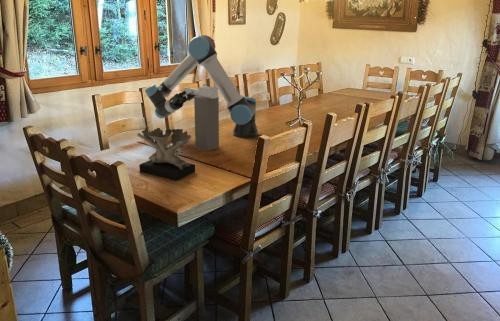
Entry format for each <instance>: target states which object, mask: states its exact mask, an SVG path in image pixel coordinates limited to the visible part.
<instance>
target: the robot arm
mask: <svg viewBox="0 0 500 321" xmlns="http://www.w3.org/2000/svg"><path fill="white" fill-rule="evenodd" d="M215 47H216V45H215V41H214V39H213V38H212V37H211V36H209V35H207V34H206V35H205V34H204V35H197V36H194V37H192V38H191V40H190V41H189V42H188V45H187V49H188V54H187V56H186V57H185V58H184V59H183V60H182V61H181V62H180V63H179V64H178V65H177V66H176V67H175V69H174V70H172V72H170V74H169V75H168V76H167V77H166V78H165V79H164V80H163V81H162V82H161V83H160V84H159V86H157V84H155V83H153V84H152V85H150V86H148V87H147V88H145V90H144V92H145V94H146V96H147V97H148V99H149V100H150V102H152V104H153V105H154V108H155V109H154V113H155V115H156V117H157V118H159V119H165V118H168V117H169V116H170V115H173V114H175V113H176V112H177V111H178V110H180V109H182V108H183V106H184V104H185V103H187V102H188V101H191V100H194V97H195V96H196V95H191V94H189V93H191V89H190V87H189V86H187V87H188V88H187V89H185V90H184V89H183V91H181V92H179V93H175V94H174V95H173V96H171V97H170V98H169V99H166V98H168V97H169V96H170V95H171V93H172V92H173V90H175V88H177V86H179V84H180V83H182V82H183V81H184V79H185V78H186V77H187V76H188V75H189V74H190V73H191V72H192V71H193V70H194V69H195V68H196V67H197V66H198V65H199V66H202V67H204V70H206V72H207V74H208V75H209V77H210V78H211V81H212V82H213V84H214V85H215V86H216V88H218V92H220V95H222V97H223V99H224V101H225V102H226V109H227V110H228V111H229V113H230V115H229V116H230V119H231V121H232V122H233V123H234V124H235V125H234V127H233V130H232V135H233V136H235V137H236V138H245V139H246V138H248V139H249V138H254V137H255V138H256V137H257V136H258V135H259V130H258V126H257V124H256V115H257V114H256V112H257V111H256V109H257V105H256V104H257V99H256V97H253V96H245V95H241V94H240V93H239V91H238V89H237V88H236V86H235V84H234V83H233V81H232V80H231V79H230V77H229V75H228V74H227V72H226V71H225V69H224V67H223V66H222V64H221V63H220V61H219V59H218V52H217V51H216V49H215ZM202 86H206V85H205V84H203V85H201V86H200V87H202ZM197 89H199V87H198V88H197Z"/></svg>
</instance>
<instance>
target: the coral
mask: <svg viewBox="0 0 500 321" xmlns="http://www.w3.org/2000/svg"><path fill="white" fill-rule="evenodd" d="M163 130H164V129H161V128H160V127H157V128H155V129H153V130H152V131H151V130H150V131H148V132H147V130H146V129H144V130H141V133H142V134H141V133H140V132H138V133H137V134H136V135H137V136H138V137H139V138H140V139H142V140H144V141H145V142H147V143H149V144H150V145H151V146H152V147H153V148H154V149H155V152H154V153H152V154H151V156H149V157H148V160H147V161H145V162H142V163H140V164H139V165H138V166H139V167H138V168H139V173H142V174H146V175H149V176H154V177H158V178H163V179H166V180H170V181H174V182H178V181H180V180H183V179H184V178H186V177H187V176H190V175H192V174H194V173H196V165H195V164H194V163H190V162H186V160H184V159H181V158H180V157H179V156H178V157H177V156H175V155H174V152H175V150H176V149H178V148H181V147H183V146H184V145H186V144H187V143H190V142H189V141H190V140H191V139H192V136H191V135H190V134H188V130H185V131H184V129H183V128H176V129H175V128H173V129H171V128H170V129H167V128H166V129H165V130H164V131H163ZM183 131H184V132H183ZM170 135H171V144H172V146H171V147H169V148H168V147H167V144H166V142H167V140H168V138H169V137H170Z"/></svg>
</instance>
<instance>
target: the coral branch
mask: <svg viewBox="0 0 500 321" xmlns="http://www.w3.org/2000/svg"><path fill="white" fill-rule="evenodd" d="M171 146H172V142H169V144H168V145H166V147H168V148H169V147H171ZM180 148H181V147H179V148H178V149H176V150H175V152H174V155H175V156H177V157H179V156H180V155H181V153H182V154H183V153H184V152H183V151H181V149H180Z"/></svg>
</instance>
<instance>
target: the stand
mask: <svg viewBox="0 0 500 321" xmlns="http://www.w3.org/2000/svg"><path fill="white" fill-rule="evenodd" d="M219 99H220V96H218V98H214V99H209V98H204V97H199V96H195V97H194V98H193V100H194V101H193V102H194V104H193V105H194V107H193V108H194V141H195V142H194V146H195V149H197V150H198V149H199V150H202V151H205V152H209V151H213V150H215V149H218V148H220V141H219V140H220V131H219V130H220V127H219V126H220V124H219V123H220V117H219V116H220V115H219V114H220V112H219V110H220V109H219V108H220V107H219V106H220V105H219V102H220V100H219Z"/></svg>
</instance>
